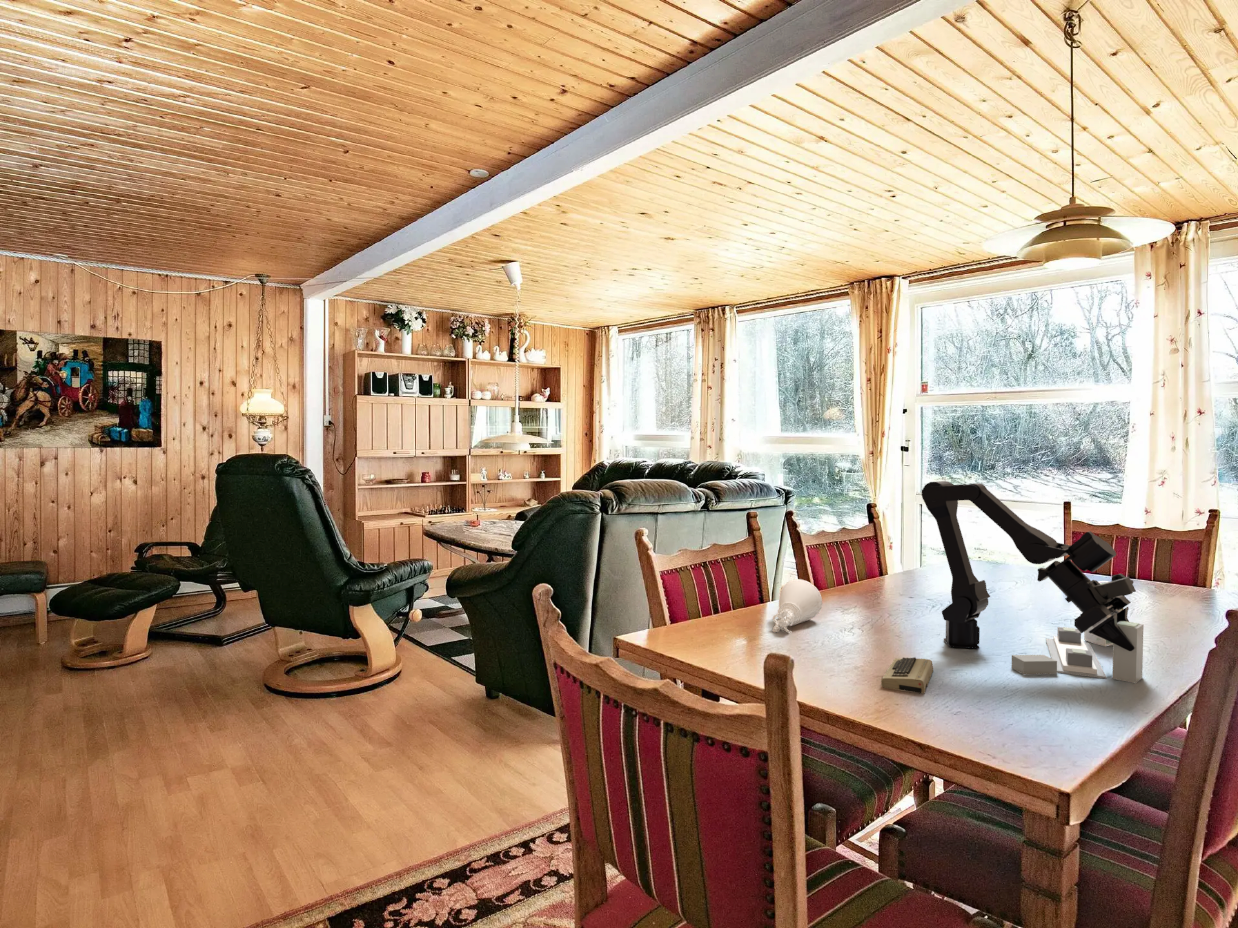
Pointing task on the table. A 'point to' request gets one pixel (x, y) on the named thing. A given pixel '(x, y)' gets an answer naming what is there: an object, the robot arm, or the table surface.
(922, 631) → the table surface
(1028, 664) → the block
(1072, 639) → the module far
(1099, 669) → the rail
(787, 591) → the rocket engine
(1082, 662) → the module near
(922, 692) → the computer
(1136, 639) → the panel
